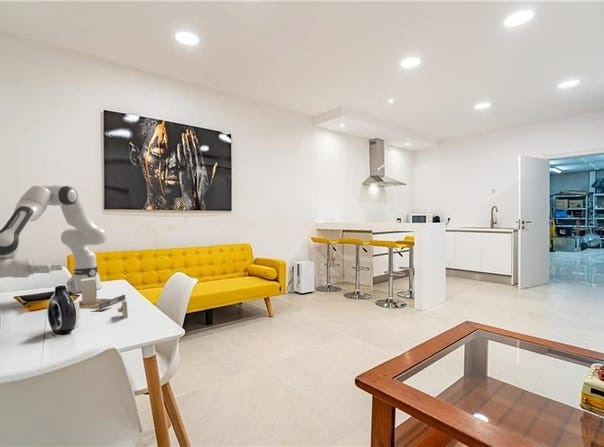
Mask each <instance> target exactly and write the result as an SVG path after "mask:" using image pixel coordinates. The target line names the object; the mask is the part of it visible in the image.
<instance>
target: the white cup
mask: <svg viewBox="0 0 604 447" xmlns="http://www.w3.org/2000/svg"><path fill="white" fill-rule="evenodd" d="M72 302H73V303H74V306H75V309H76V324H75V328H74V329H73V330H75V329H77V328H79V326H80V308H79V301H72Z"/></svg>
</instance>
